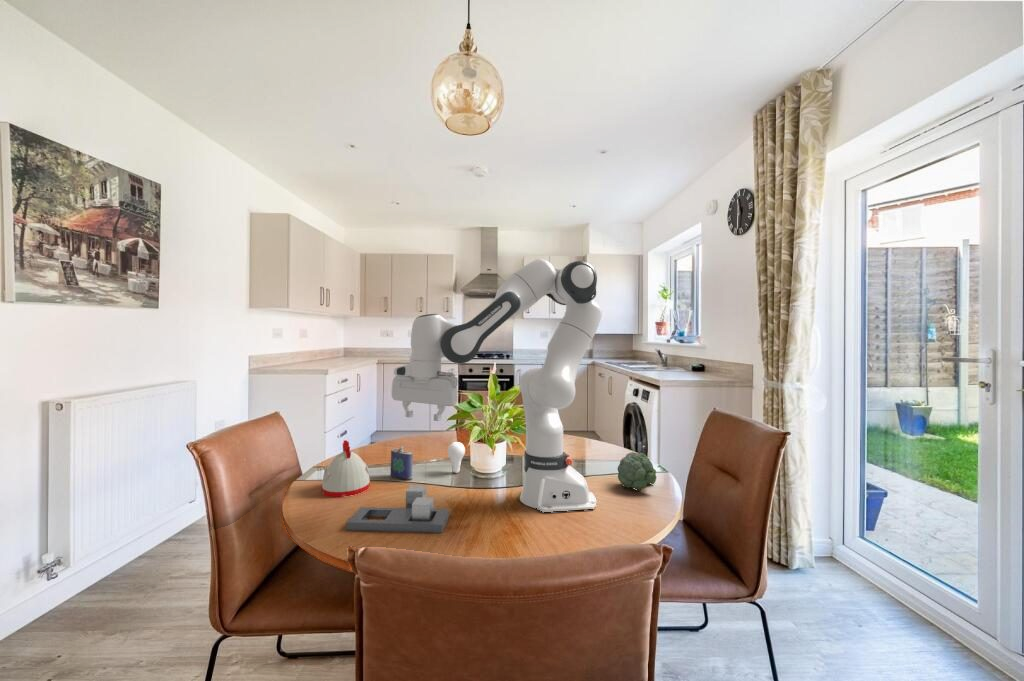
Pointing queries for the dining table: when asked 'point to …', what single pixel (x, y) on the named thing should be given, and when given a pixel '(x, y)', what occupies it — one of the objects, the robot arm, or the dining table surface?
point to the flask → (401, 464)
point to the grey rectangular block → (414, 494)
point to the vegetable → (636, 471)
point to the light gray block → (423, 509)
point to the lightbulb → (456, 455)
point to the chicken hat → (345, 474)
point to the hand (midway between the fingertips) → (423, 418)
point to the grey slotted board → (396, 520)
